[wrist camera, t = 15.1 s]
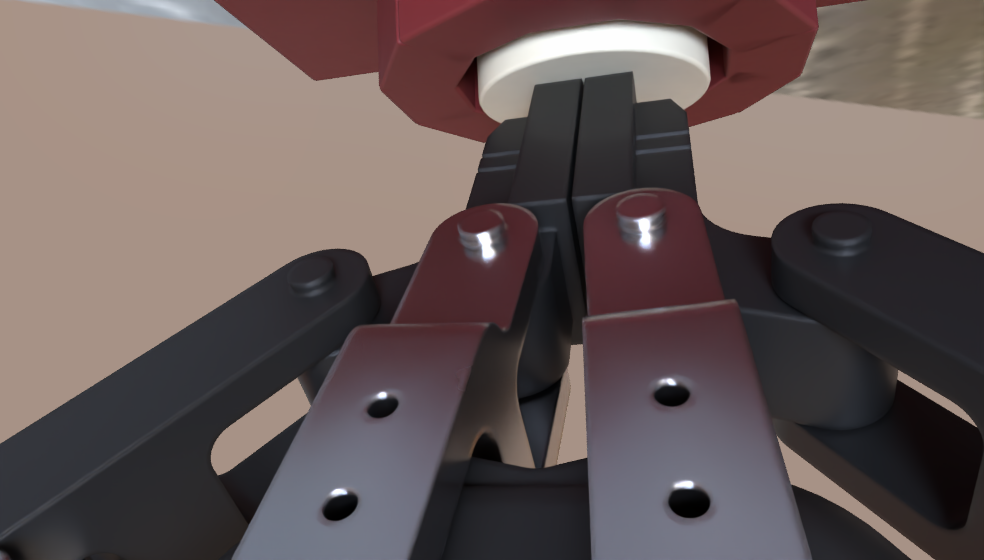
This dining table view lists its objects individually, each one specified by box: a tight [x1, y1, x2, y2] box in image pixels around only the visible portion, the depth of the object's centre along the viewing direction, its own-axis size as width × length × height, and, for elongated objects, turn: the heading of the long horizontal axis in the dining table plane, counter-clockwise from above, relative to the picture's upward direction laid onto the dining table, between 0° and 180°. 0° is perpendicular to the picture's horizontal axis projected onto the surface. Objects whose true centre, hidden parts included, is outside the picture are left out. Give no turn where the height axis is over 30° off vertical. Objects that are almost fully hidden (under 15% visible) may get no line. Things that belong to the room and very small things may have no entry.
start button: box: [477, 19, 711, 123], centre depth 13 cm, size 4×4×2 cm
